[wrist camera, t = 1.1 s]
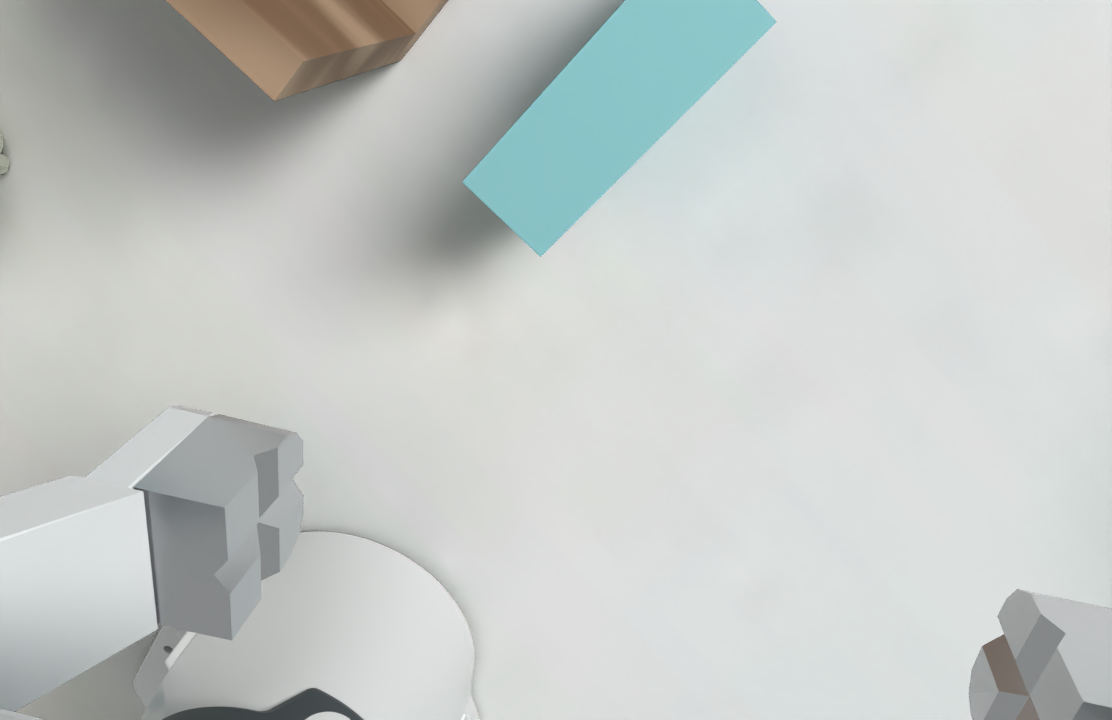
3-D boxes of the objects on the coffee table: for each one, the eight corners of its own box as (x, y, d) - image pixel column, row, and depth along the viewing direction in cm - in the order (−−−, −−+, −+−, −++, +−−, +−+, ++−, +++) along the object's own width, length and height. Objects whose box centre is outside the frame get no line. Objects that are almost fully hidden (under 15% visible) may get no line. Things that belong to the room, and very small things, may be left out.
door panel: (575, 196, 35) (540, 256, 28) (513, 136, 35) (462, 181, 28) (761, 7, 31) (776, 21, 24) (695, -66, 31) (690, -73, 23)
